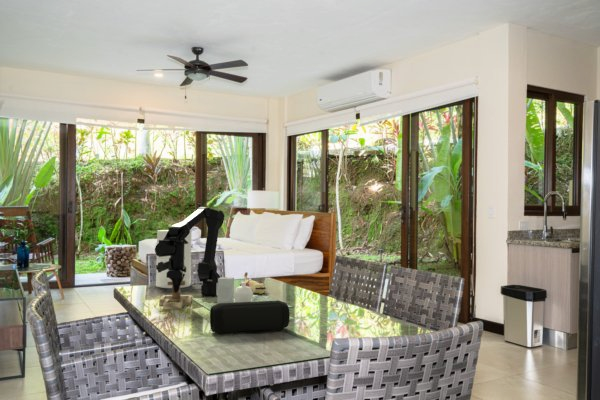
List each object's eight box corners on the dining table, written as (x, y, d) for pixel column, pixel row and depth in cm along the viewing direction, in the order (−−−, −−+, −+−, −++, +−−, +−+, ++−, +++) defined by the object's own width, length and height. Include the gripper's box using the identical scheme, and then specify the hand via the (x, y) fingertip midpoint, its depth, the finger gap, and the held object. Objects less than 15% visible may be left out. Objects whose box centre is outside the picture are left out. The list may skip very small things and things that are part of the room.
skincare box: (233, 306, 204) (234, 277, 204) (231, 308, 200) (232, 279, 200) (219, 305, 205) (220, 276, 205) (216, 307, 201) (217, 278, 201)
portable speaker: (281, 325, 174) (281, 297, 174) (290, 333, 164) (290, 303, 165) (209, 330, 165) (209, 300, 165) (214, 338, 156) (215, 306, 156)
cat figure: (235, 289, 252) (251, 294, 229) (235, 272, 252) (251, 275, 230) (254, 288, 256) (271, 293, 233) (254, 271, 256) (271, 274, 234)
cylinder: (153, 283, 257) (154, 229, 257) (186, 281, 264) (187, 229, 264) (158, 288, 241) (160, 231, 241) (193, 287, 248) (195, 231, 249)
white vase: (249, 315, 188) (249, 284, 188) (230, 314, 189) (230, 283, 189) (254, 311, 195) (255, 281, 195) (236, 310, 197) (237, 280, 197)
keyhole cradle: (191, 300, 214) (192, 295, 214) (187, 309, 196) (187, 303, 196) (162, 300, 212) (162, 295, 212) (155, 309, 195) (156, 303, 195)
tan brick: (184, 298, 210) (185, 280, 210) (184, 299, 207) (184, 281, 207) (168, 298, 209) (168, 280, 209) (167, 299, 206) (167, 281, 206)
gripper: (161, 252, 217) (160, 287, 217) (154, 257, 198) (153, 295, 198) (187, 252, 218) (186, 287, 218) (182, 257, 200) (181, 295, 199)
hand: (176, 291), depth 208 cm, fingers closed on tan brick, 3 cm apart
